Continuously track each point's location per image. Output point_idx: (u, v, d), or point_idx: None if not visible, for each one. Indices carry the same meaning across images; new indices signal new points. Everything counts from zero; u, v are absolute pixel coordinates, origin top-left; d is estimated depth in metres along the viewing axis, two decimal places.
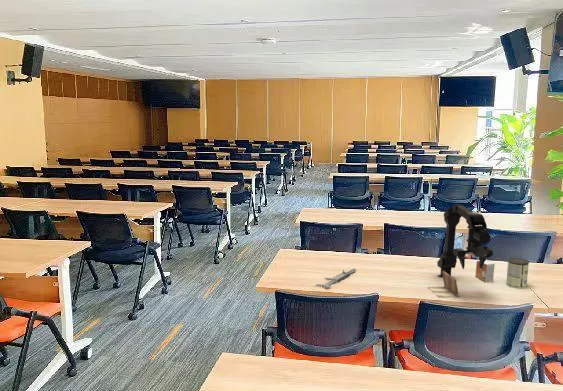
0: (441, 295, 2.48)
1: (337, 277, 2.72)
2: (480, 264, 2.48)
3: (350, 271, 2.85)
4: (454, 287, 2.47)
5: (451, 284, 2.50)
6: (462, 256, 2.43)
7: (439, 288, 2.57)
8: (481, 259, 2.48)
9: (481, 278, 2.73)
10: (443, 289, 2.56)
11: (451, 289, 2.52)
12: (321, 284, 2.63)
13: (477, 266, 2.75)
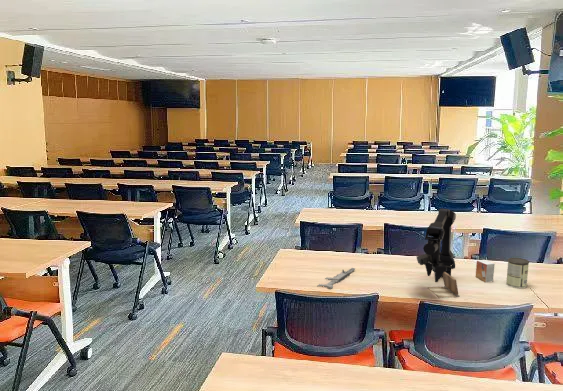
0: (441, 295, 2.48)
1: (338, 277, 2.72)
2: None
3: None
4: (454, 287, 2.47)
5: (451, 284, 2.50)
6: None
7: (439, 288, 2.57)
8: None
9: (481, 278, 2.73)
10: (443, 289, 2.56)
11: (451, 289, 2.52)
12: (323, 284, 2.63)
13: (477, 266, 2.75)
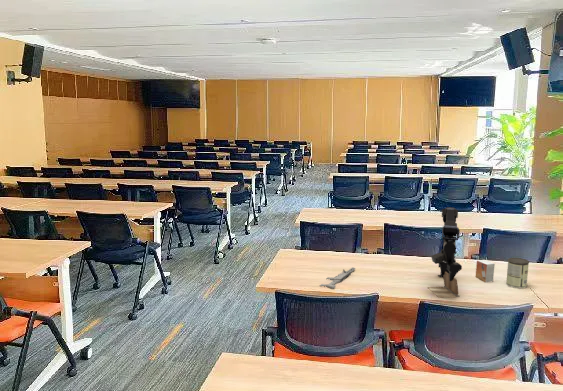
0: (441, 295, 2.48)
1: (339, 276, 2.73)
2: None
3: (350, 270, 2.87)
4: (454, 287, 2.47)
5: (451, 284, 2.50)
6: None
7: (439, 288, 2.57)
8: None
9: (481, 278, 2.73)
10: (443, 289, 2.56)
11: (451, 289, 2.52)
12: (325, 284, 2.63)
13: (477, 266, 2.75)
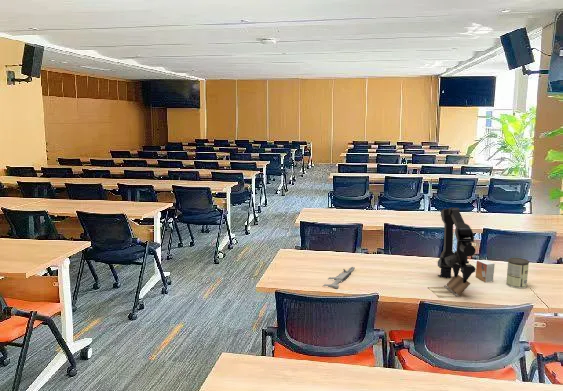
0: (441, 295, 2.48)
1: (341, 276, 2.73)
2: None
3: (349, 269, 2.88)
4: (462, 288, 2.48)
5: (459, 285, 2.51)
6: None
7: (439, 288, 2.57)
8: None
9: (481, 278, 2.73)
10: (443, 289, 2.56)
11: (454, 289, 2.52)
12: (329, 284, 2.63)
13: (477, 266, 2.75)
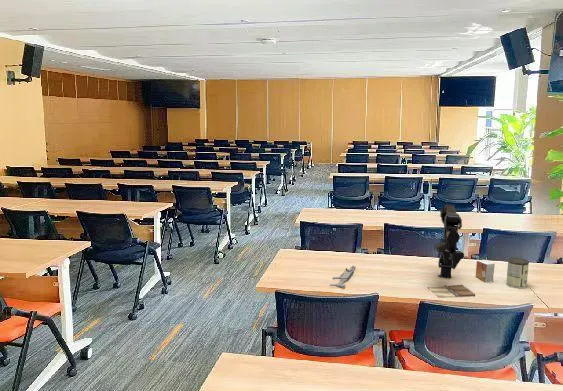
0: (441, 295, 2.48)
1: (345, 276, 2.74)
2: None
3: (351, 269, 2.90)
4: (465, 294, 2.48)
5: (463, 291, 2.51)
6: None
7: (439, 288, 2.57)
8: None
9: (481, 278, 2.73)
10: (443, 289, 2.56)
11: (456, 291, 2.52)
12: (335, 284, 2.64)
13: (477, 266, 2.75)
